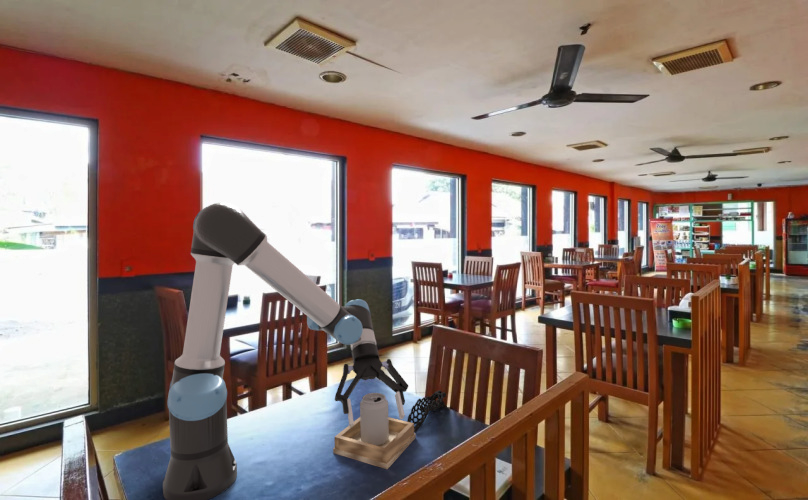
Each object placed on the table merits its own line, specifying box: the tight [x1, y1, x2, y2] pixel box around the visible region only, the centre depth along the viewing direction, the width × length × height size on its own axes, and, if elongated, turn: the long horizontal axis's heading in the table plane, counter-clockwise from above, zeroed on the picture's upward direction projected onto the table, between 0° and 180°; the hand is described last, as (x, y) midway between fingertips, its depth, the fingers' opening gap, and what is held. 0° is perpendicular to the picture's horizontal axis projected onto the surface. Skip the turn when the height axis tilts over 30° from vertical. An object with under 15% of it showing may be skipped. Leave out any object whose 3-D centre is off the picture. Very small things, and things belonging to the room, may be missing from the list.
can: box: [359, 392, 389, 446], centre depth 107 cm, size 8×8×12 cm
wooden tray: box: [332, 416, 416, 470], centre depth 107 cm, size 16×16×4 cm
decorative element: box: [406, 389, 447, 433], centre depth 124 cm, size 22×5×6 cm, turn 152°
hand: (377, 421), depth 105 cm, fingers open, 13 cm apart
